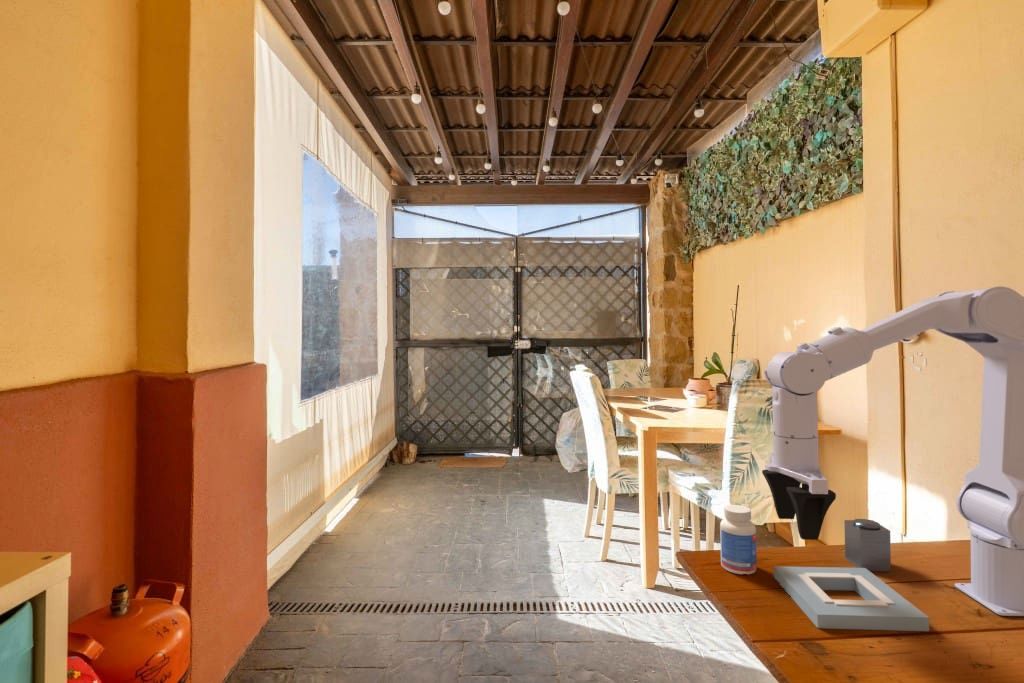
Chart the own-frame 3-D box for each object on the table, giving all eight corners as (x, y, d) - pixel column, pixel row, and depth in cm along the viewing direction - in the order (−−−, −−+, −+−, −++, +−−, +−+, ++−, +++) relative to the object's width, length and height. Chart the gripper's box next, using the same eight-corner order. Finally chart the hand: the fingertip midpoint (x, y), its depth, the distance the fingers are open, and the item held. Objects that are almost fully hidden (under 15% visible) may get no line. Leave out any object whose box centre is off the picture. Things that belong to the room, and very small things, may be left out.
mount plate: (865, 579, 78) (865, 566, 78) (929, 631, 64) (928, 615, 64) (774, 577, 79) (773, 565, 79) (817, 628, 66) (817, 612, 66)
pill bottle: (761, 576, 79) (759, 515, 79) (724, 574, 81) (723, 513, 80) (751, 561, 85) (750, 503, 85) (717, 559, 86) (716, 502, 86)
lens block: (873, 558, 85) (872, 517, 85) (890, 571, 80) (890, 528, 80) (845, 558, 85) (844, 517, 85) (860, 570, 81) (860, 528, 81)
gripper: (748, 425, 81) (750, 509, 81) (786, 446, 66) (788, 548, 67) (795, 425, 80) (797, 510, 80) (844, 446, 65) (846, 549, 66)
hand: (796, 528), depth 73 cm, fingers open, 7 cm apart
